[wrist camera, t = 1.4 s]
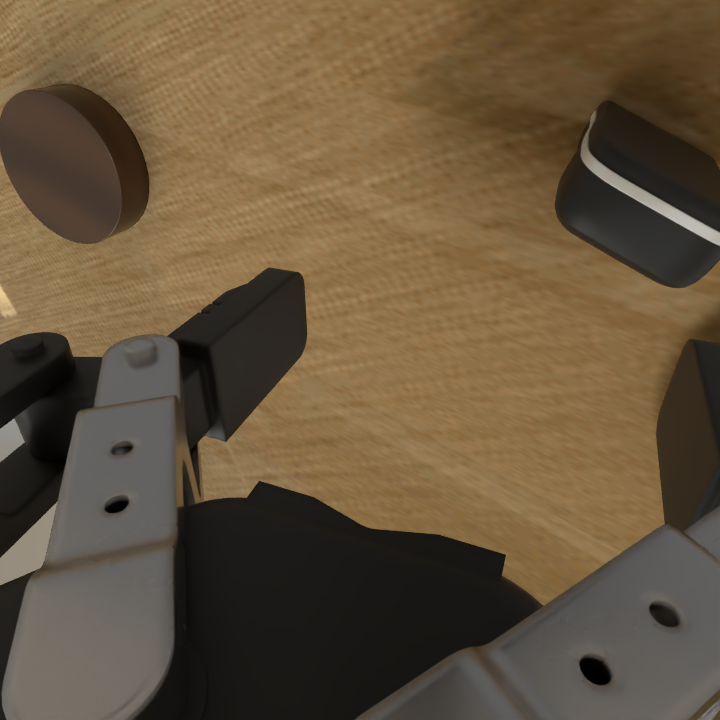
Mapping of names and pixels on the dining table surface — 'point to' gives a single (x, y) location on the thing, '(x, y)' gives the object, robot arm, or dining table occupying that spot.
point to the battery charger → (643, 198)
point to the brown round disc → (73, 162)
